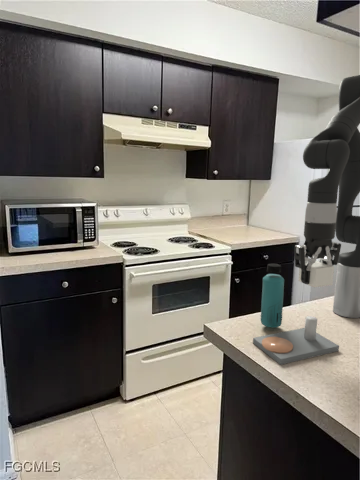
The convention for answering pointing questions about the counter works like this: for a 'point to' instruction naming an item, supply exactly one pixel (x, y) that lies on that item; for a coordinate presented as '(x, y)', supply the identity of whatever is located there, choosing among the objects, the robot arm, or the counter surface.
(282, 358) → the post board
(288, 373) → the counter surface
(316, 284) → the off-white matte cube
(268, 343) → the tan flat disc
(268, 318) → the beverage bottle
